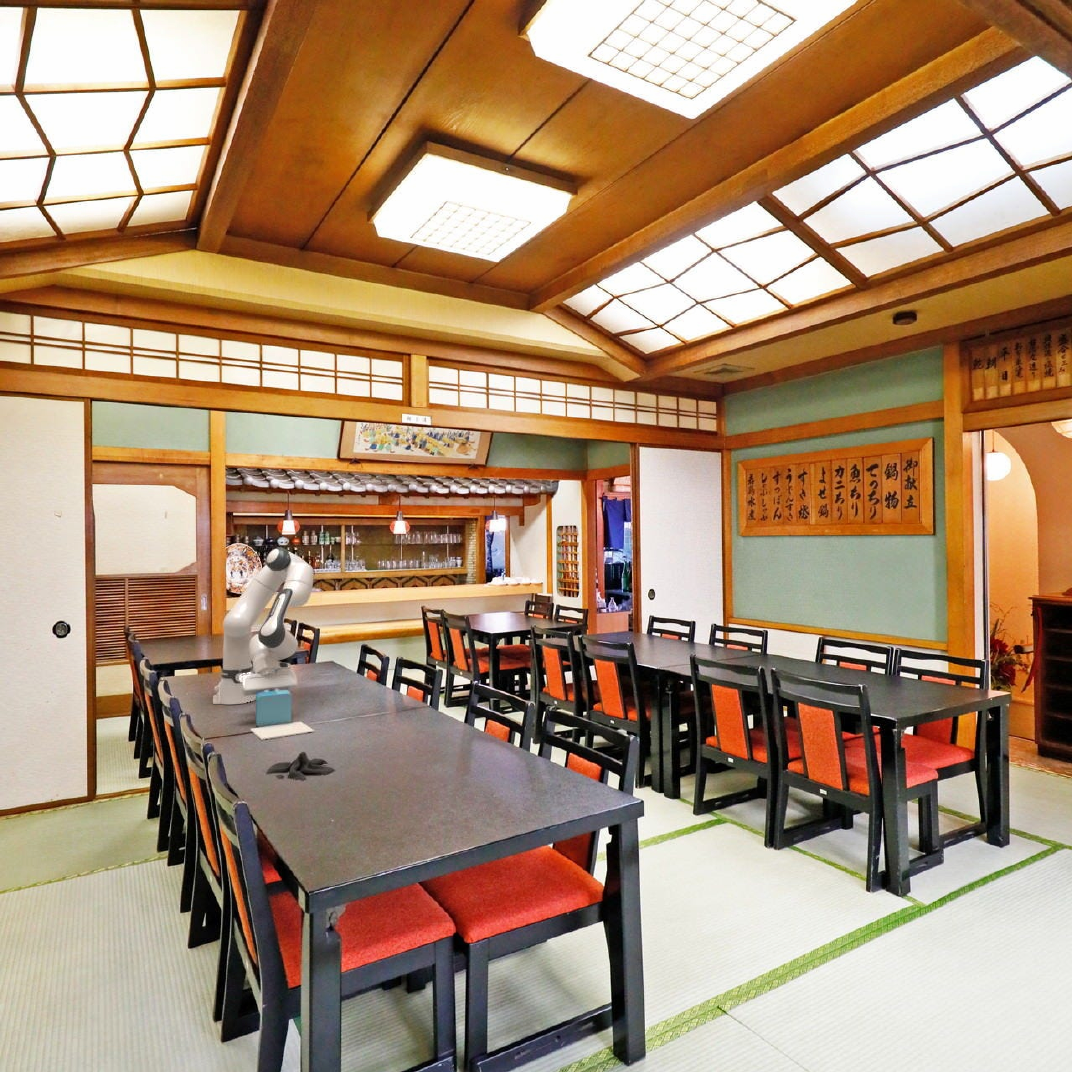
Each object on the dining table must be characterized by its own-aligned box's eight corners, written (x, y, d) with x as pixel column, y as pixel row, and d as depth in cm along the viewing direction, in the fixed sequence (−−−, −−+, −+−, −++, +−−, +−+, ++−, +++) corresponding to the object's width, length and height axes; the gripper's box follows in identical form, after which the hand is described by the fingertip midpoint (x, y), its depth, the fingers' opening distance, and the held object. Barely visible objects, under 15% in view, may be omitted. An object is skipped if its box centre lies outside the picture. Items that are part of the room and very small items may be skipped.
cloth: (259, 769, 207) (259, 749, 207) (321, 759, 217) (321, 739, 217) (277, 791, 188) (277, 768, 189) (345, 778, 199) (345, 757, 199)
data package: (289, 720, 262) (290, 689, 261) (291, 724, 258) (292, 692, 257) (255, 724, 257) (256, 692, 256) (256, 728, 253) (257, 696, 252)
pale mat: (250, 730, 249) (250, 728, 249) (300, 723, 260) (300, 721, 260) (261, 740, 236) (261, 738, 236) (314, 732, 247) (314, 730, 247)
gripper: (239, 668, 260) (245, 699, 252) (294, 663, 272) (302, 692, 264) (236, 678, 263) (242, 709, 255) (291, 672, 275) (298, 702, 267)
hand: (273, 700), depth 259 cm, fingers closed
